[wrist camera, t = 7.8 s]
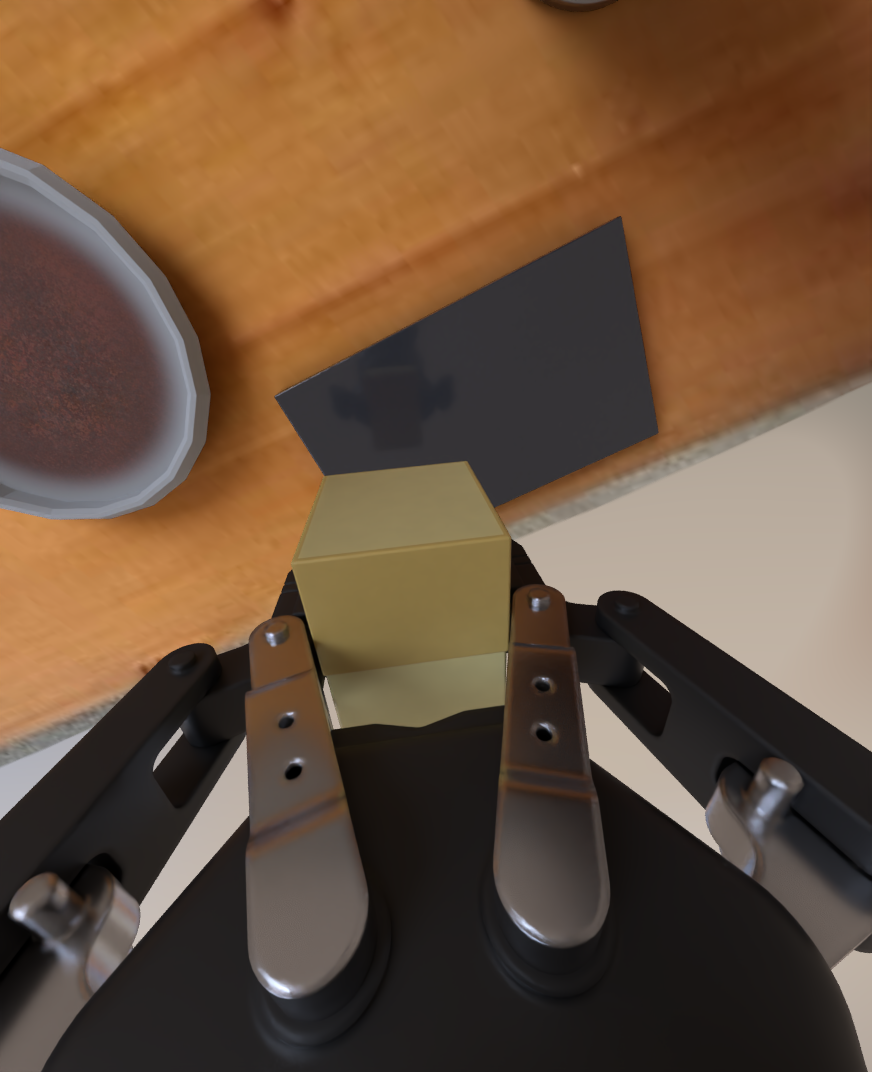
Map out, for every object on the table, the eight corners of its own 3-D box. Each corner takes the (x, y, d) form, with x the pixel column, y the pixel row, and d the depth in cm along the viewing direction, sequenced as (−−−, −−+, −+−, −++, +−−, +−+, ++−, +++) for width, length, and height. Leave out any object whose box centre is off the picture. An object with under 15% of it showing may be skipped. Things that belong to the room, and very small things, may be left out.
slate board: (610, 220, 21) (621, 215, 20) (648, 428, 27) (659, 433, 26) (278, 392, 23) (273, 396, 22) (378, 552, 29) (378, 561, 28)
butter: (467, 460, 13) (512, 536, 8) (473, 618, 16) (508, 736, 11) (323, 475, 13) (289, 563, 8) (357, 633, 16) (346, 760, 11)
